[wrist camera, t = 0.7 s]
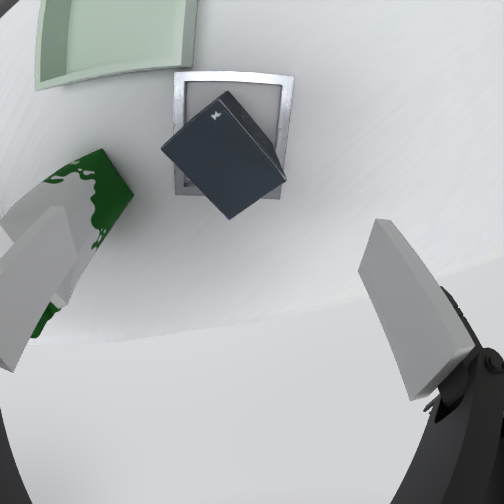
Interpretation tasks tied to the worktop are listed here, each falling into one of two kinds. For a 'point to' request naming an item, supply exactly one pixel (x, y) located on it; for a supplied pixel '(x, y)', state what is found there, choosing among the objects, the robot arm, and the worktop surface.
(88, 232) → the milk carton
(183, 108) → the collar
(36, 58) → the bin
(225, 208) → the box
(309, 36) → the worktop surface
